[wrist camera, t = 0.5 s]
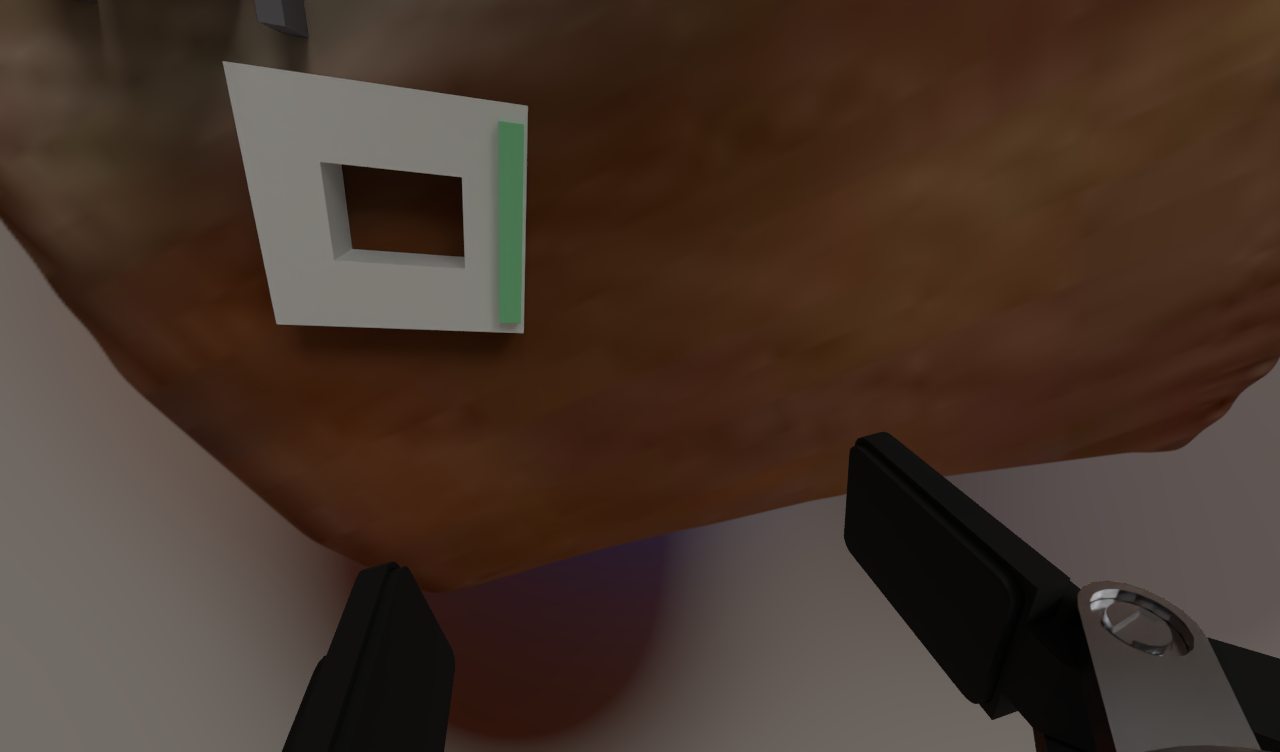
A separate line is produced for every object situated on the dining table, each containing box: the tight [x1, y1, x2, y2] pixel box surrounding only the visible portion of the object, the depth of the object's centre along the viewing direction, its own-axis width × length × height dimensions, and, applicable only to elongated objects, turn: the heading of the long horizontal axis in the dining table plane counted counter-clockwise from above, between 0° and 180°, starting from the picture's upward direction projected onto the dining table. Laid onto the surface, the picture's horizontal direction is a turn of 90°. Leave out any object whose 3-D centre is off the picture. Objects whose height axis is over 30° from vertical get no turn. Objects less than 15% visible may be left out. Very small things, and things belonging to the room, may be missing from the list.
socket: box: [222, 61, 528, 333], centre depth 30 cm, size 14×15×4 cm
